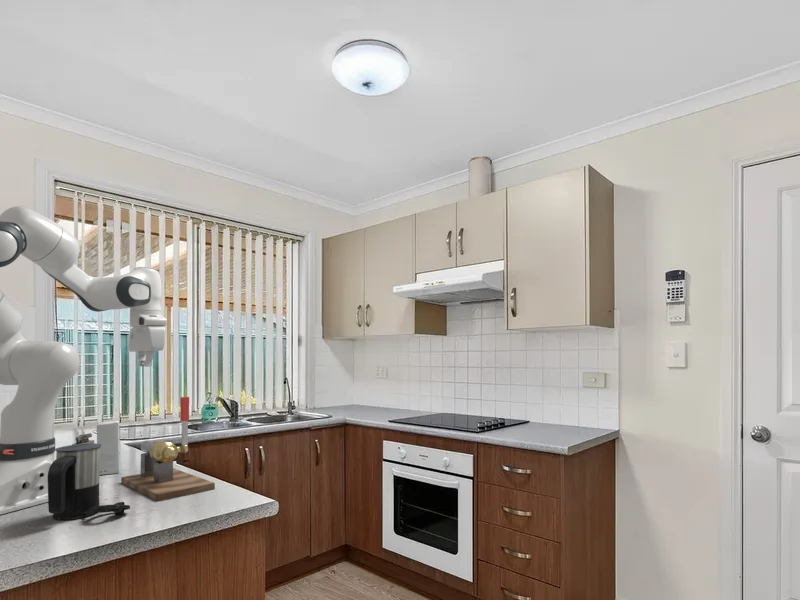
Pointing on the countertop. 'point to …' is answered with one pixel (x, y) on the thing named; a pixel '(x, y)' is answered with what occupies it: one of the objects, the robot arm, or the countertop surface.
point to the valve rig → (164, 474)
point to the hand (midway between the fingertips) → (145, 366)
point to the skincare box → (109, 447)
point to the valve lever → (184, 422)
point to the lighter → (84, 439)
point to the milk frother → (77, 483)
